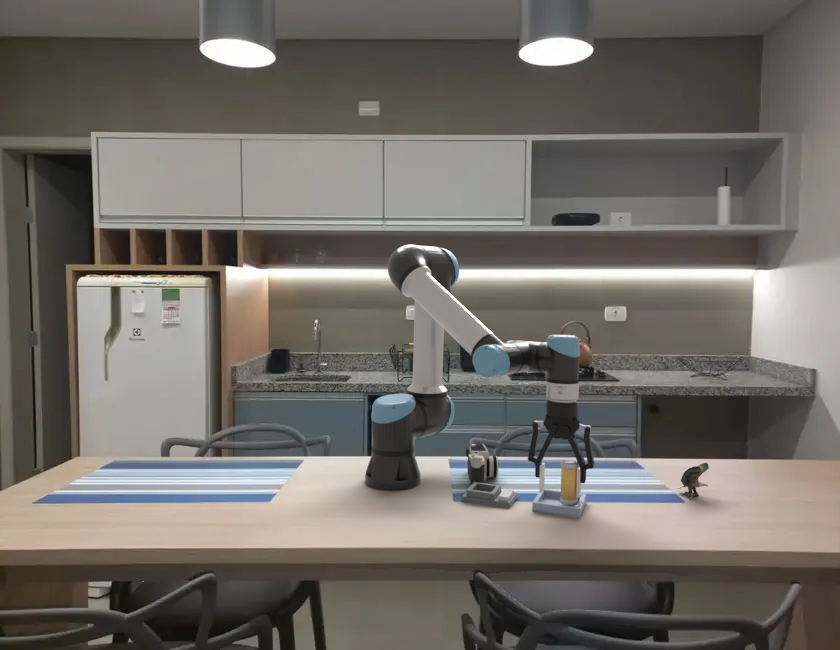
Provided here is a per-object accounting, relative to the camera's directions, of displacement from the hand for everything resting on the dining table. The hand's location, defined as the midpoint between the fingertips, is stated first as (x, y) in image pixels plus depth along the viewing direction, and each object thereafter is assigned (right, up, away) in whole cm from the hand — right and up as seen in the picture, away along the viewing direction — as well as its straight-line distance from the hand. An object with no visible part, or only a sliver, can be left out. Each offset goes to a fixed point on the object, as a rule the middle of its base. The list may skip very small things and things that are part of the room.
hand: (559, 493), depth 141 cm
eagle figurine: (+36, -4, +10) cm, 38 cm away
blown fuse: (+2, -2, -1) cm, 3 cm away
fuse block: (-16, -3, +5) cm, 17 cm away
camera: (-16, -3, +22) cm, 27 cm away
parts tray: (0, -4, 0) cm, 4 cm away
